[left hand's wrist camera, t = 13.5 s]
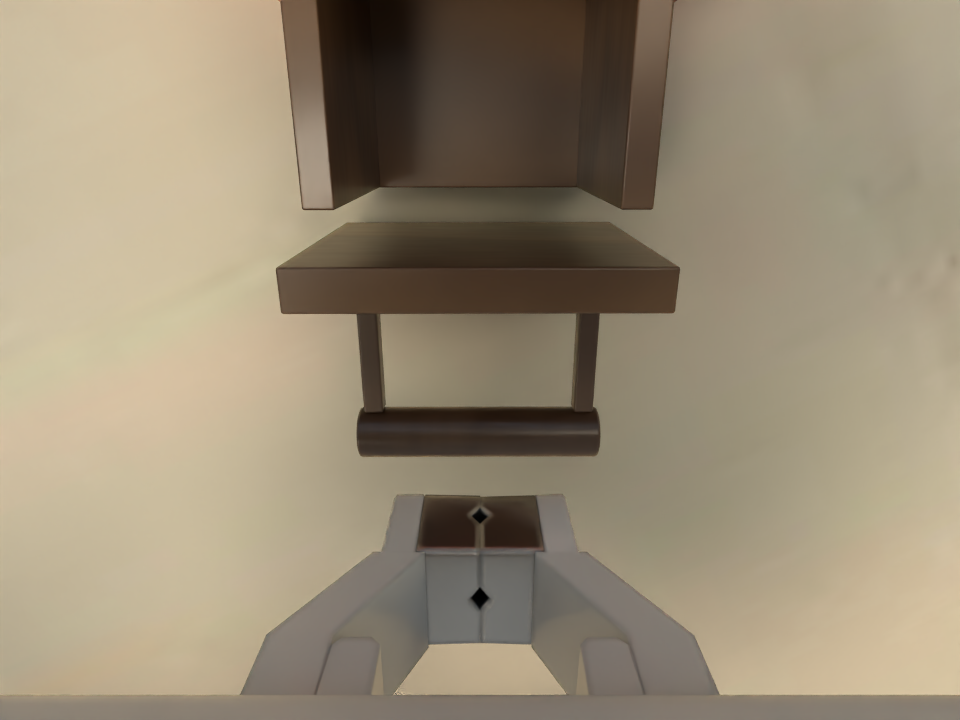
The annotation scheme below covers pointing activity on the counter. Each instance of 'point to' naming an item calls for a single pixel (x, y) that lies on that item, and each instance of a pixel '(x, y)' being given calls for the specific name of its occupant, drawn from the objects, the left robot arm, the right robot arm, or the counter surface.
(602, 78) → the drawer
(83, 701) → the left robot arm
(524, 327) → the counter surface
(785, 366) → the counter surface
